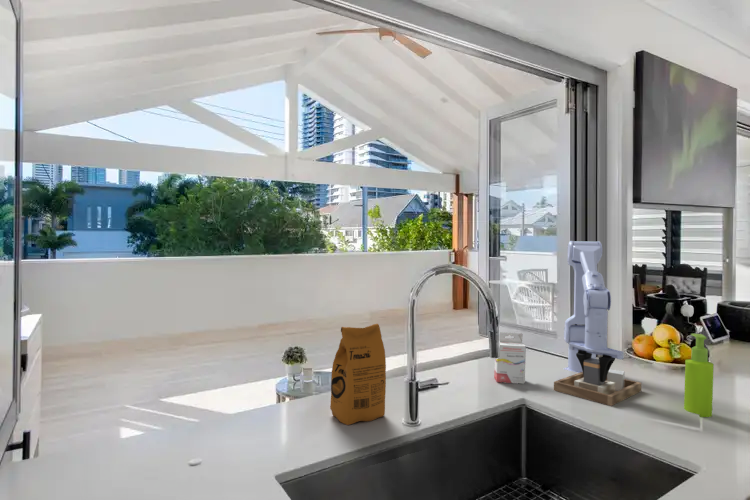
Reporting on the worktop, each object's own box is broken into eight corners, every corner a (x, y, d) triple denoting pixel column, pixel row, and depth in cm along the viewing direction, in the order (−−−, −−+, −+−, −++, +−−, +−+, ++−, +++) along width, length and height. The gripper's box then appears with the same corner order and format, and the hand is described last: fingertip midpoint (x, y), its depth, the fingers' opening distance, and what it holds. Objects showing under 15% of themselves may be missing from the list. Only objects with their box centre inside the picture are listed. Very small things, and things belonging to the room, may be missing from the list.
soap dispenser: (705, 409, 120) (708, 333, 120) (715, 418, 114) (718, 338, 113) (679, 406, 122) (681, 331, 122) (688, 415, 116) (690, 336, 115)
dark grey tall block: (589, 384, 133) (590, 357, 133) (604, 388, 130) (604, 360, 130) (583, 387, 131) (583, 360, 131) (597, 391, 128) (598, 363, 127)
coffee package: (325, 413, 112) (327, 324, 112) (369, 405, 119) (371, 320, 118) (343, 428, 104) (345, 331, 103) (390, 418, 110) (391, 326, 110)
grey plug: (608, 385, 137) (609, 369, 137) (624, 388, 135) (624, 371, 135) (606, 389, 134) (607, 372, 134) (622, 391, 131) (622, 374, 131)
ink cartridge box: (496, 382, 140) (497, 334, 140) (494, 378, 145) (495, 331, 145) (525, 384, 139) (526, 335, 139) (521, 379, 144) (523, 332, 144)
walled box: (586, 379, 145) (586, 368, 145) (641, 393, 133) (641, 381, 132) (553, 392, 132) (553, 380, 132) (611, 408, 120) (611, 394, 120)
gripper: (564, 329, 134) (563, 375, 134) (616, 337, 123) (615, 388, 123) (576, 326, 138) (575, 371, 138) (627, 334, 127) (626, 383, 127)
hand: (594, 379), depth 131 cm, fingers closed on dark grey tall block, 4 cm apart
